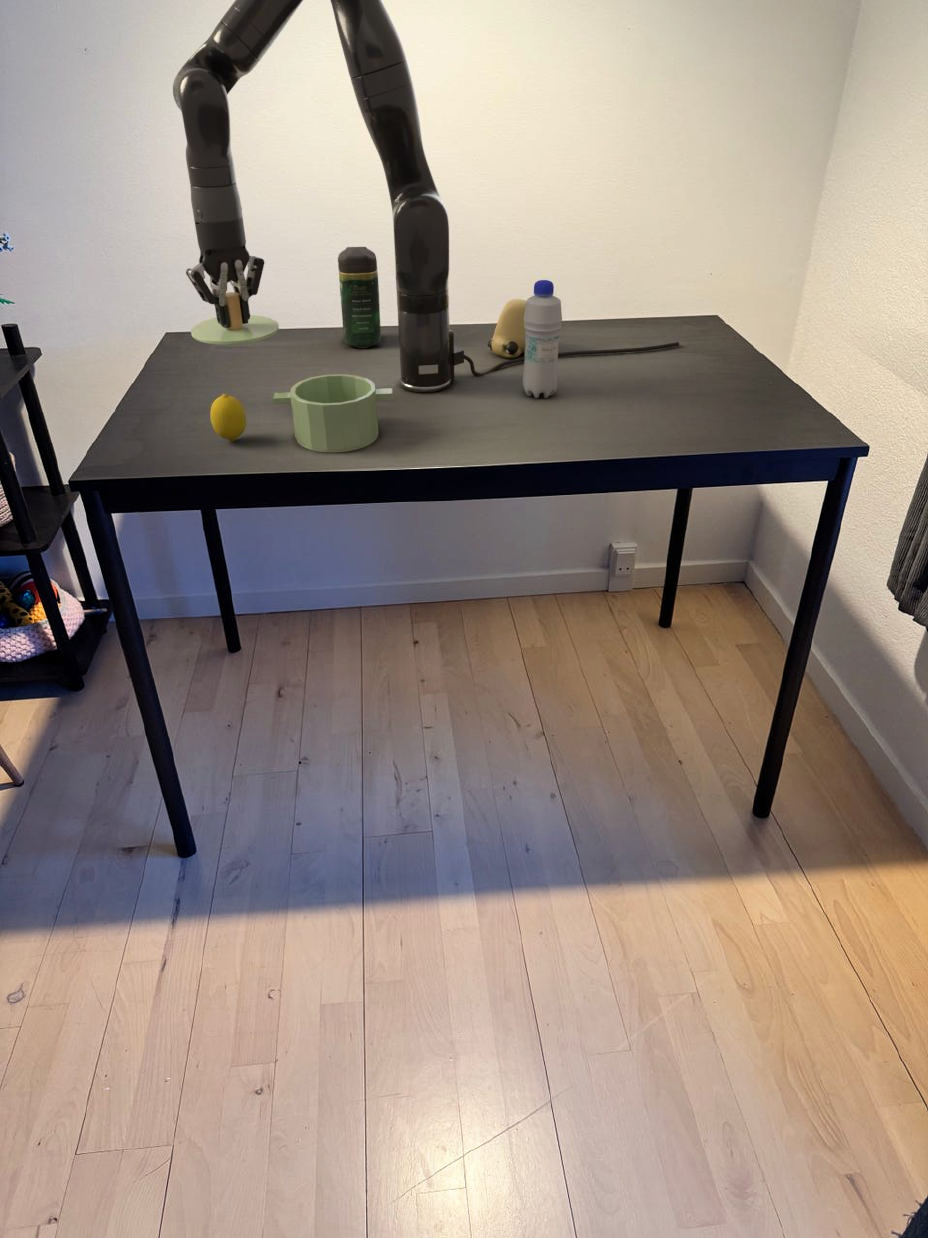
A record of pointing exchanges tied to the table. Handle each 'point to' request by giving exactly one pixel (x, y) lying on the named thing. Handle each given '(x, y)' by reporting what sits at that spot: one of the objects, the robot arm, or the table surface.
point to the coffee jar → (359, 297)
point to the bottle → (541, 340)
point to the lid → (235, 326)
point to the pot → (334, 411)
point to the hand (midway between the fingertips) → (234, 324)
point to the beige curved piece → (510, 330)
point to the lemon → (228, 417)
